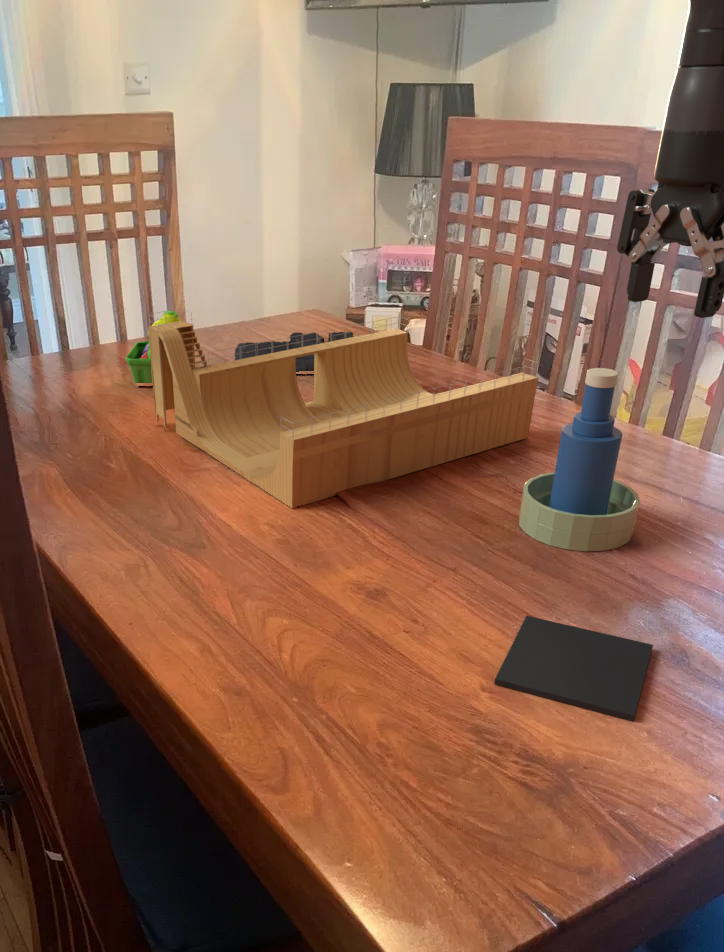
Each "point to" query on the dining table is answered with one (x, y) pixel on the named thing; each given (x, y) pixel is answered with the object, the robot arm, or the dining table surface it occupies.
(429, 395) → the skate ramp
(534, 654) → the mat
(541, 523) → the bowl
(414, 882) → the dining table surface
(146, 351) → the fruit basket
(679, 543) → the dining table surface
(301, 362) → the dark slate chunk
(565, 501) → the bottle
